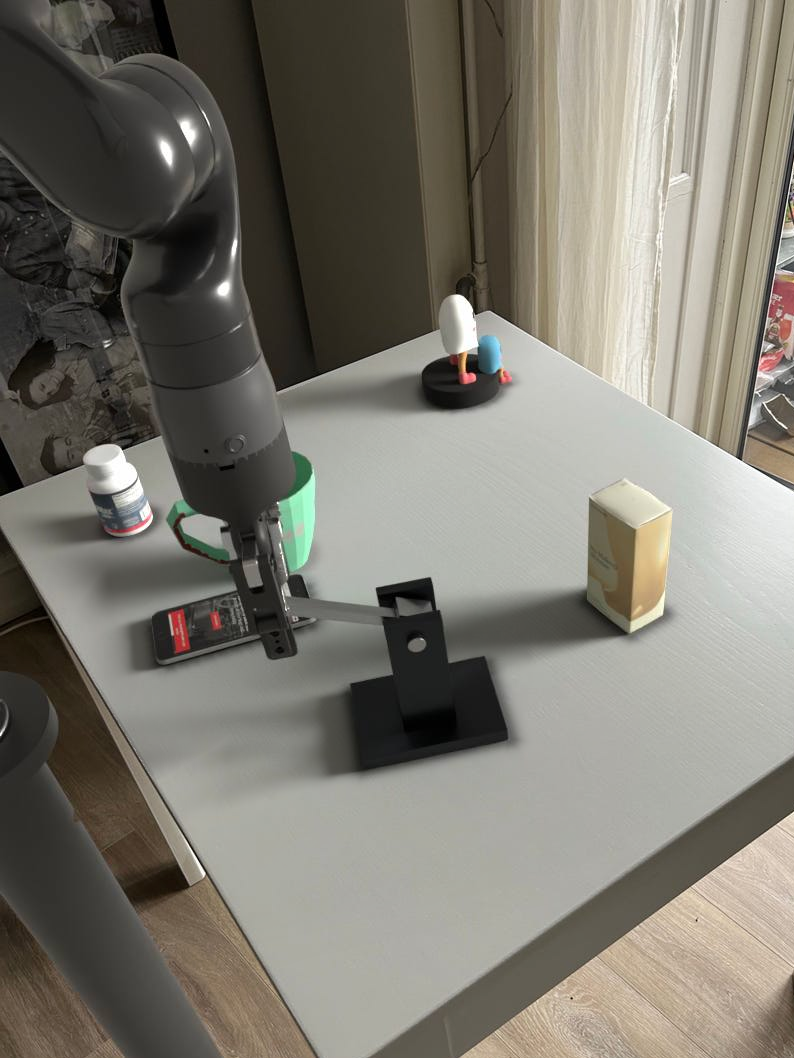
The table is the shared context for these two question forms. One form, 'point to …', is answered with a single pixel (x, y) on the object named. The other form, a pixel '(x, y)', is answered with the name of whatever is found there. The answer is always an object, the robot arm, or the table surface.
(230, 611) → the smartphone
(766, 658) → the table surface
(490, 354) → the figurine
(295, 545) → the mug
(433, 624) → the bracket
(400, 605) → the lever
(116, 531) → the pill bottle
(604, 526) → the cosmetic box
